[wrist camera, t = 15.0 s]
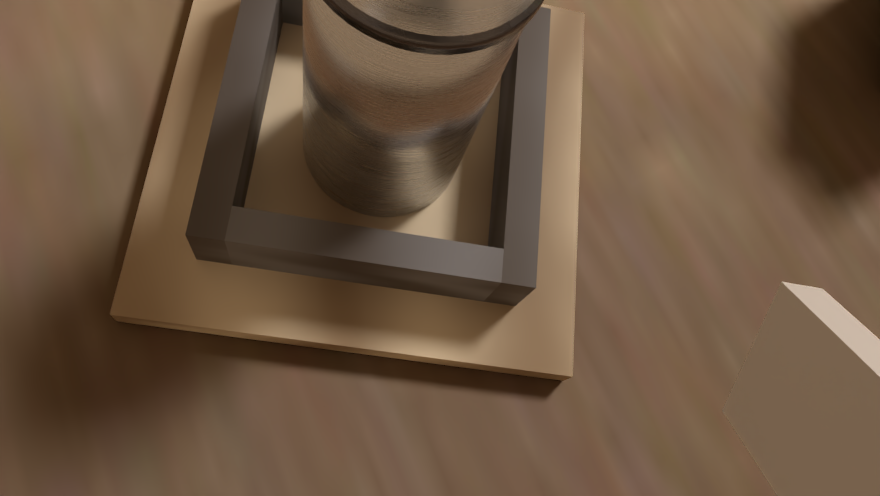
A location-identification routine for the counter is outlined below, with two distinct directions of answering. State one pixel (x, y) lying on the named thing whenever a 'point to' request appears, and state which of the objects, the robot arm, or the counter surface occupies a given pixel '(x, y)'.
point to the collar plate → (351, 233)
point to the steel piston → (399, 93)
